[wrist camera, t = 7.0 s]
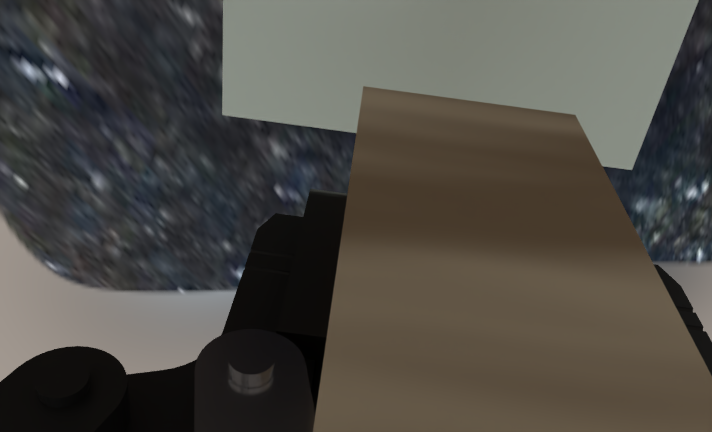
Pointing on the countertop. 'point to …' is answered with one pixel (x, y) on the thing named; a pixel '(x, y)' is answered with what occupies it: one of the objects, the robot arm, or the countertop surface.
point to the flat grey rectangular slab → (456, 59)
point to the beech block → (496, 284)
